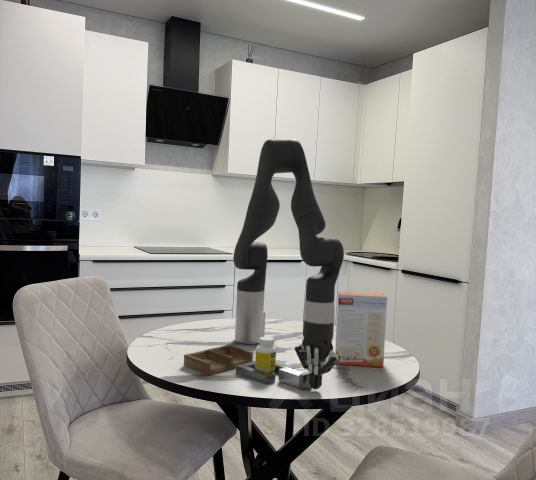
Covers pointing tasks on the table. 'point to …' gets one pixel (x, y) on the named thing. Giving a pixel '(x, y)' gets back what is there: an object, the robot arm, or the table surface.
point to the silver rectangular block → (294, 377)
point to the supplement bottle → (265, 355)
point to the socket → (258, 372)
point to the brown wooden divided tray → (217, 359)
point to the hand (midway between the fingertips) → (315, 387)
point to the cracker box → (361, 328)
